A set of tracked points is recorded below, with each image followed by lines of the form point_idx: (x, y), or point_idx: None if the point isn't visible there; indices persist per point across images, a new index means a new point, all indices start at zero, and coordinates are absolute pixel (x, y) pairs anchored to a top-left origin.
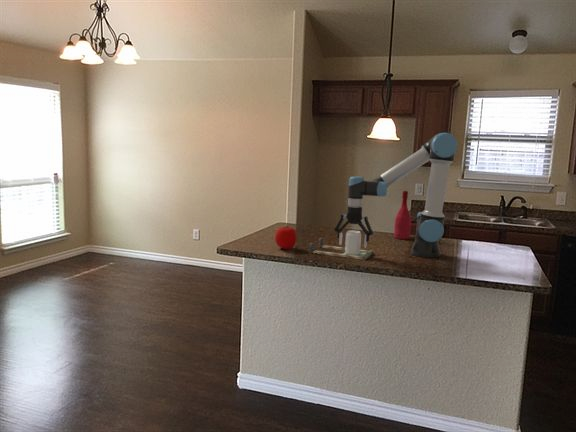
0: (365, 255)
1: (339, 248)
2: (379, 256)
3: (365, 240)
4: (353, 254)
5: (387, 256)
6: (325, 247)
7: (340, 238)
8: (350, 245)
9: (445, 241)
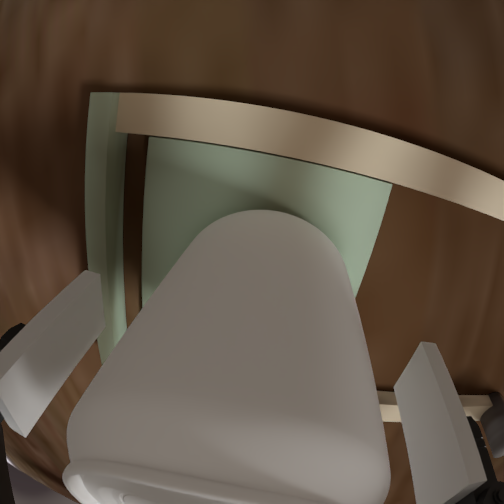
0: (95, 145)
1: (384, 400)
2: (50, 277)
3: (28, 331)
4: (242, 211)
5: (20, 290)
6: (472, 398)
7: (449, 409)
8: (280, 261)
9: (27, 469)
